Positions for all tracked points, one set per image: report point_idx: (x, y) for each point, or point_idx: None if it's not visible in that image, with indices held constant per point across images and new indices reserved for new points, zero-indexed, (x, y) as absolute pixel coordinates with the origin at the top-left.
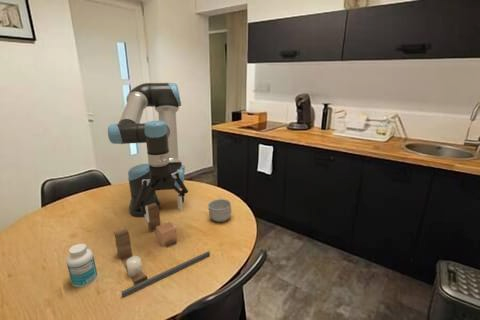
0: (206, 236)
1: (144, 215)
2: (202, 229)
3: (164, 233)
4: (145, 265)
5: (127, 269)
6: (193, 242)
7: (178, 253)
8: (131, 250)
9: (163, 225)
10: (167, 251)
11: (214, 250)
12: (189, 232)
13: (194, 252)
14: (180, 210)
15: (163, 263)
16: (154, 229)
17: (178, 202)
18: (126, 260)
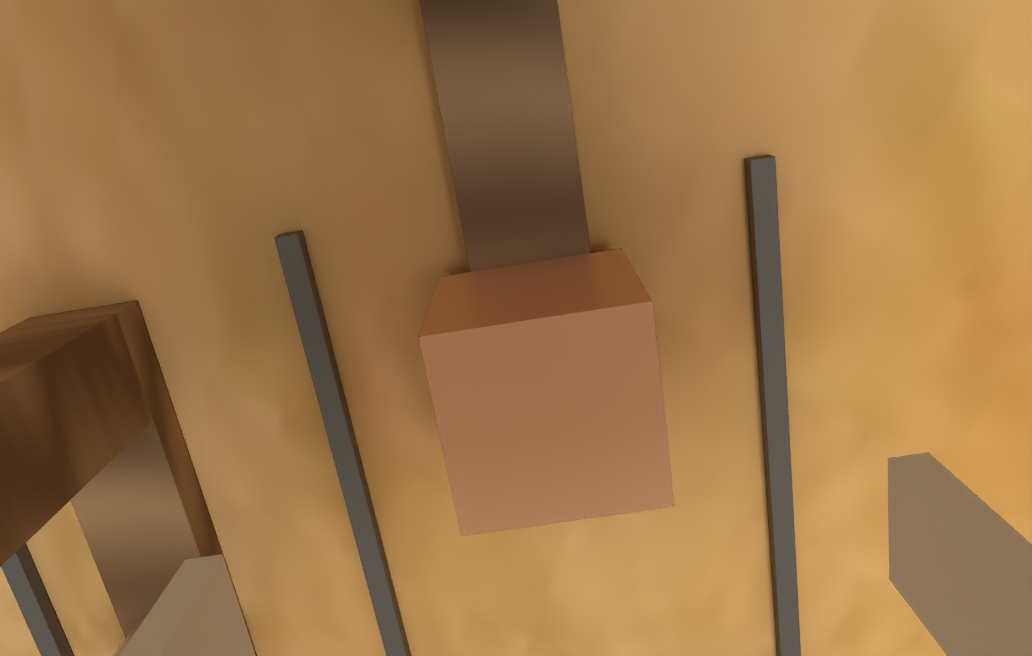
0: (963, 412)
1: (141, 627)
2: (1008, 259)
3: (500, 520)
4: (282, 546)
5: (116, 594)
6: (791, 443)
7: (592, 530)
8: (125, 445)
9: (534, 355)
10: None
11: (896, 636)
12: (844, 243)
13: (728, 582)
14: (895, 567)
15: (432, 590)
16: (453, 9)
17: (993, 616)
18: (100, 476)
